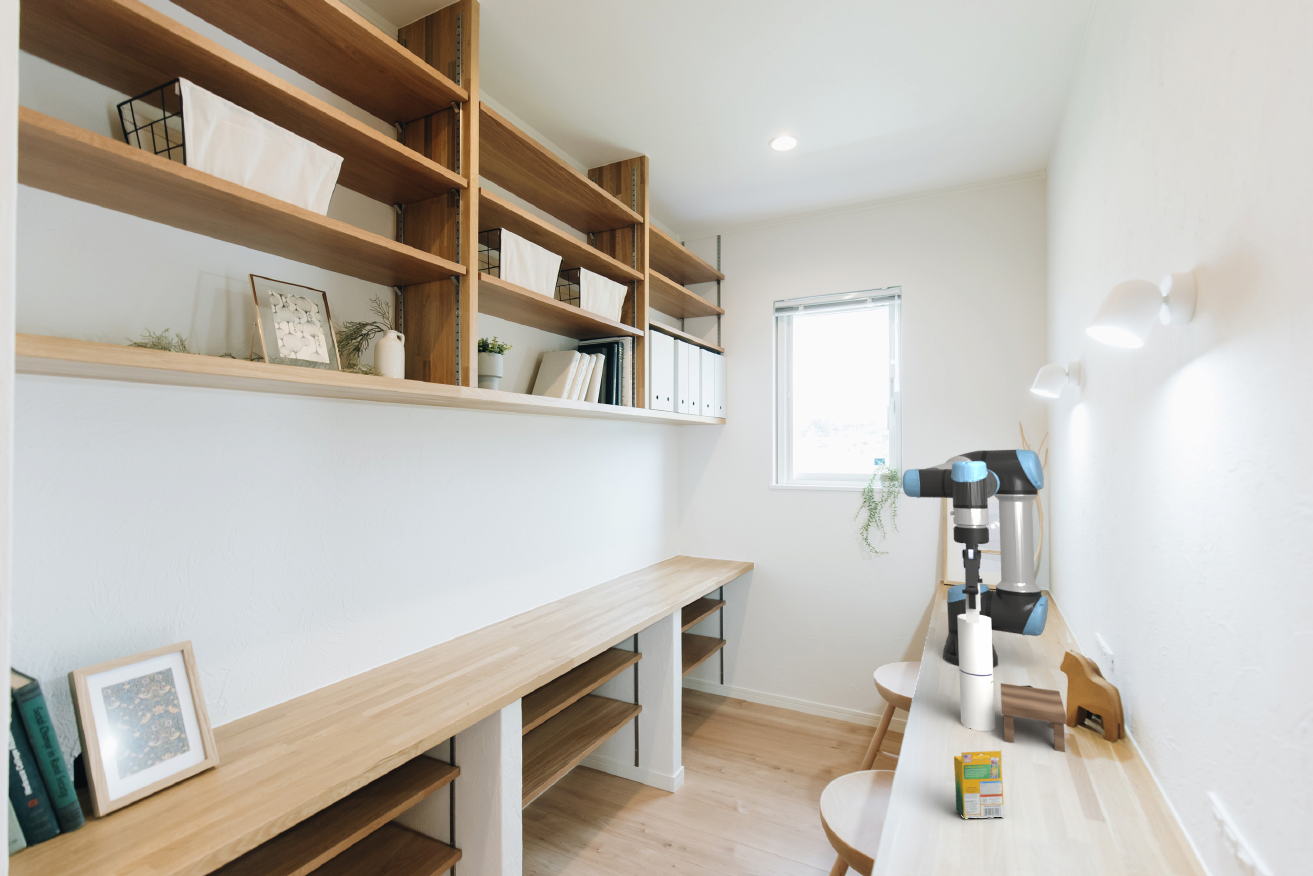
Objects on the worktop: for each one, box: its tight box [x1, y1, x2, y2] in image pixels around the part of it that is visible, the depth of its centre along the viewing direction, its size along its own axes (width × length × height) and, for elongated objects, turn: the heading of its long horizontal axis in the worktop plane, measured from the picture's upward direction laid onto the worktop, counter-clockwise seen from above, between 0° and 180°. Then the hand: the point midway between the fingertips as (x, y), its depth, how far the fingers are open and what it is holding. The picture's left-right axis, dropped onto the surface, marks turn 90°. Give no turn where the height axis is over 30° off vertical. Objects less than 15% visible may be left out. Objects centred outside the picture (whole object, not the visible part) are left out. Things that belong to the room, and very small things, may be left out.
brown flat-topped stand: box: [1000, 682, 1067, 753], centre depth 142 cm, size 15×12×8 cm
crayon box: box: [953, 750, 1005, 818], centre depth 111 cm, size 7×3×12 cm, turn 92°
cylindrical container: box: [957, 614, 996, 732], centre depth 148 cm, size 7×7×25 cm
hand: (973, 616), depth 148 cm, fingers open, 13 cm apart
